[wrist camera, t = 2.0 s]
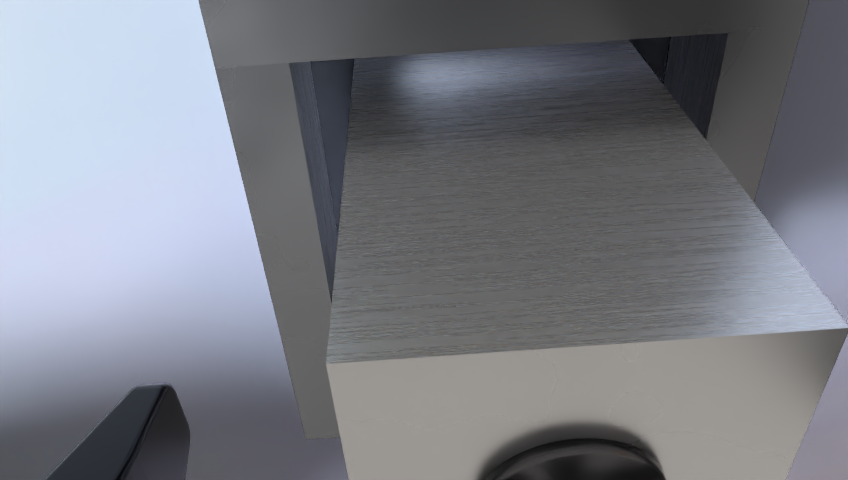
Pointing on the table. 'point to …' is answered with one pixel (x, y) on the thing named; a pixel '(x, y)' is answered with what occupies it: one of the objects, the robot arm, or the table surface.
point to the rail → (449, 32)
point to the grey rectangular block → (559, 281)
